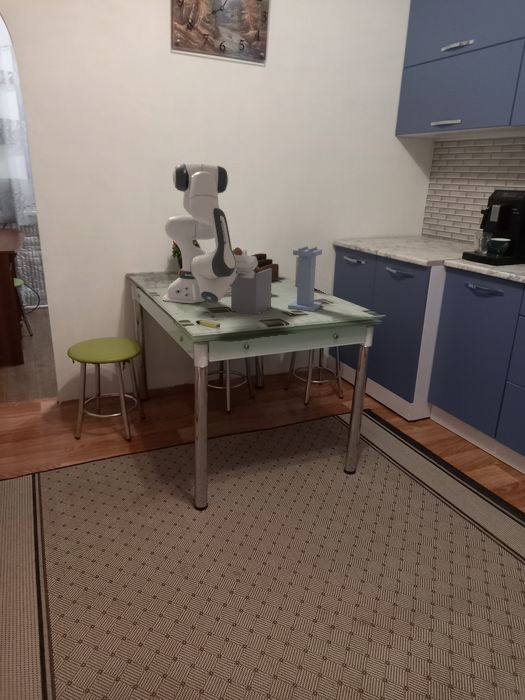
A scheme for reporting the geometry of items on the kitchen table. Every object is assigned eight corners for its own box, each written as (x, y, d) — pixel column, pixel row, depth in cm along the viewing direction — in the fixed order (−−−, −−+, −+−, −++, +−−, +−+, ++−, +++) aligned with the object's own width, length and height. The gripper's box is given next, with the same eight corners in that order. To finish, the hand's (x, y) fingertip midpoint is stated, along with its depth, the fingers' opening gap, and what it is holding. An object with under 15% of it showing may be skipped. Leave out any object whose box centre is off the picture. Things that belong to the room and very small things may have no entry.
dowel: (239, 254, 204) (241, 247, 205) (233, 254, 206) (234, 247, 206) (259, 273, 224) (260, 266, 225) (253, 272, 226) (254, 266, 226)
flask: (304, 291, 265) (305, 256, 259) (293, 285, 277) (294, 252, 272) (310, 290, 266) (312, 256, 260) (299, 285, 279) (300, 252, 273)
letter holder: (245, 280, 291) (246, 255, 286) (265, 275, 306) (265, 251, 302) (260, 282, 285) (260, 257, 281) (278, 277, 301) (279, 253, 296)
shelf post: (313, 311, 224) (316, 250, 215) (287, 308, 229) (290, 248, 220) (321, 305, 234) (325, 247, 226) (297, 302, 239) (299, 245, 230)
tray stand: (255, 314, 217) (256, 274, 212) (231, 311, 222) (231, 271, 216) (270, 306, 231) (271, 268, 225) (247, 303, 236) (247, 266, 230)
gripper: (248, 267, 193) (261, 246, 202) (202, 263, 202) (217, 243, 210) (251, 280, 198) (264, 259, 206) (206, 275, 206) (221, 255, 214)
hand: (240, 250), depth 208 cm, fingers closed on dowel, 3 cm apart
